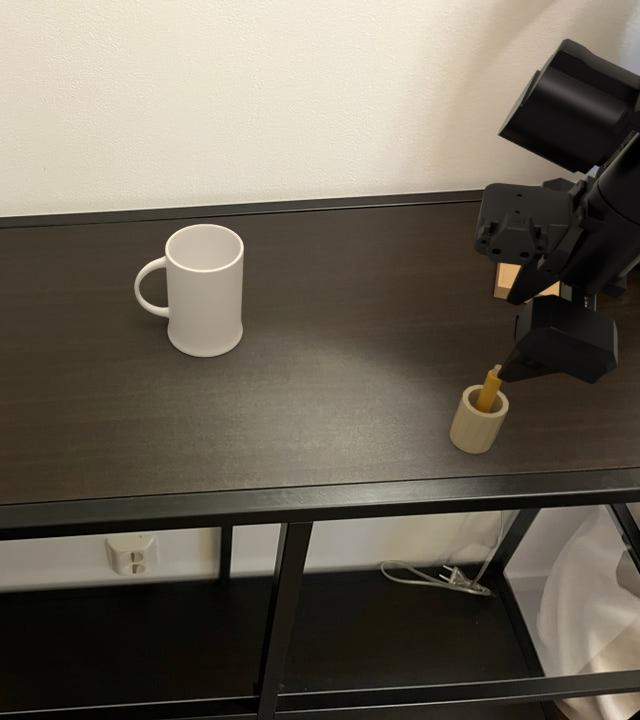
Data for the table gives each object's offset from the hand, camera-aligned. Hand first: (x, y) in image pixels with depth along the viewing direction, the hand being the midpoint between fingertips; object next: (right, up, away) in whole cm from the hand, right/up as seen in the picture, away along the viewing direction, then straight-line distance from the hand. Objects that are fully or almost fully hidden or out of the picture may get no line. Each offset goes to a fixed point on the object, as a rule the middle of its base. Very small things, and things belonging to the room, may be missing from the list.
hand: (507, 339), depth 62 cm
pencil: (+1, -9, +10) cm, 14 cm away
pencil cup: (+1, -9, +10) cm, 14 cm away
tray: (+16, +8, +27) cm, 32 cm away
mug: (-26, +1, +23) cm, 34 cm away
